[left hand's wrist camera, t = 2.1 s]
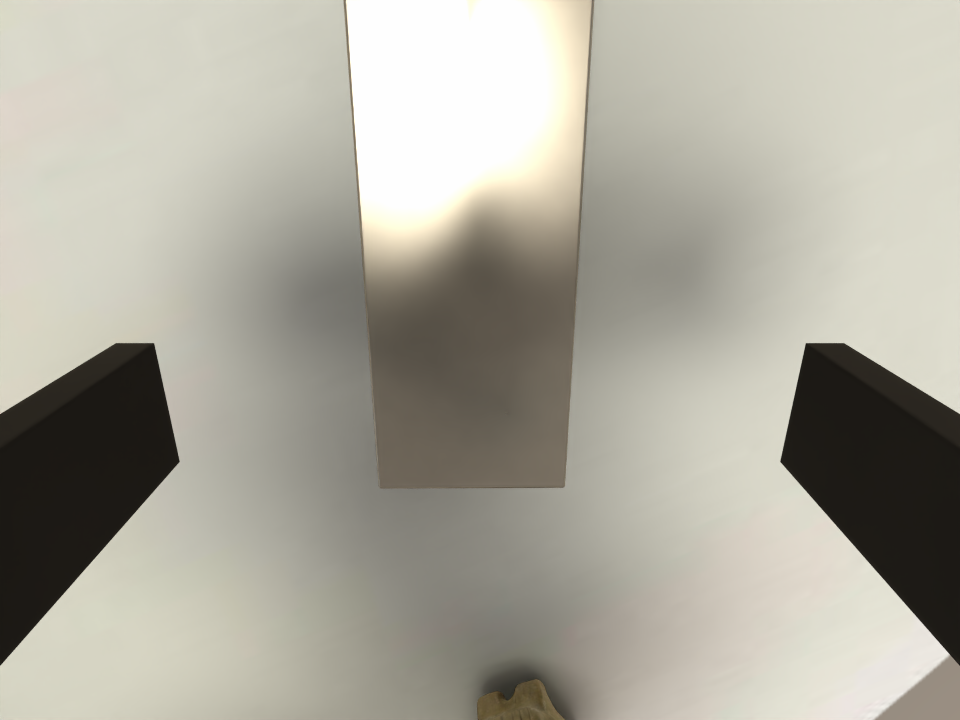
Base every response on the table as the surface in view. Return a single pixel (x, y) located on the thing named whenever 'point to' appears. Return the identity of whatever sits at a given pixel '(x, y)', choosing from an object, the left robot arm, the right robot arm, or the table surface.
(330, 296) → the table surface
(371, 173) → the bar
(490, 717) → the sculpture
